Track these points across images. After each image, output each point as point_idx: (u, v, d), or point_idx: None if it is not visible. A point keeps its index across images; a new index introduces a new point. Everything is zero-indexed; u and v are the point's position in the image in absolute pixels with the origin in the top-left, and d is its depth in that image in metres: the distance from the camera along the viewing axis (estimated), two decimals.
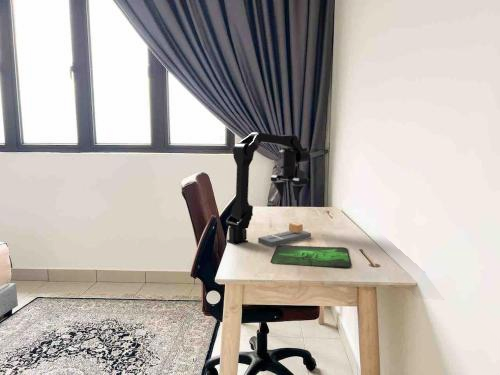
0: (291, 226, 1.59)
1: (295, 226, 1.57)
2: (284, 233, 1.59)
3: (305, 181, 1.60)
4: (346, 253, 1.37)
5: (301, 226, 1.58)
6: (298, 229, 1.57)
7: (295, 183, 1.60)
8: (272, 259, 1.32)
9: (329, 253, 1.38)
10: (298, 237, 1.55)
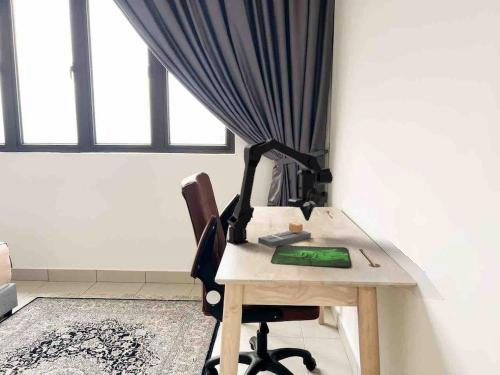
0: (291, 226, 1.59)
1: (295, 226, 1.57)
2: (284, 233, 1.59)
3: (292, 203, 1.56)
4: (346, 253, 1.37)
5: (301, 226, 1.58)
6: (298, 229, 1.57)
7: None
8: (272, 259, 1.32)
9: (329, 253, 1.38)
10: (298, 237, 1.55)
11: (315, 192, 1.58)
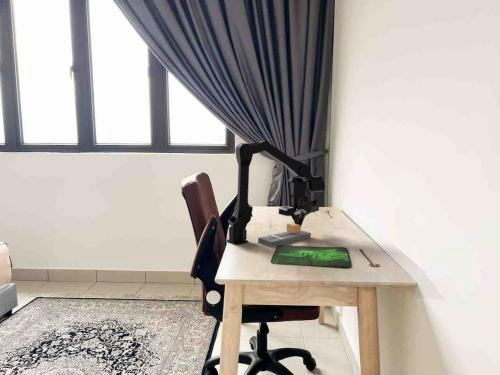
0: (289, 227, 1.58)
1: (293, 226, 1.56)
2: (284, 233, 1.59)
3: (283, 212, 1.53)
4: (346, 253, 1.37)
5: (299, 226, 1.57)
6: (296, 230, 1.56)
7: None
8: (272, 259, 1.32)
9: (329, 253, 1.38)
10: (298, 237, 1.55)
11: (306, 200, 1.56)
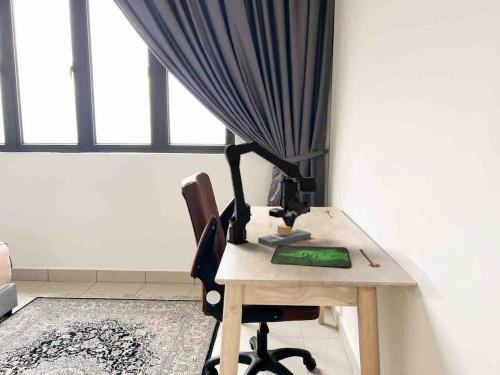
0: (279, 229, 1.55)
1: (283, 228, 1.53)
2: None
3: (274, 214, 1.50)
4: (346, 253, 1.37)
5: (290, 228, 1.54)
6: (287, 232, 1.53)
7: None
8: (272, 259, 1.32)
9: (329, 253, 1.38)
10: (298, 237, 1.55)
11: (297, 201, 1.53)
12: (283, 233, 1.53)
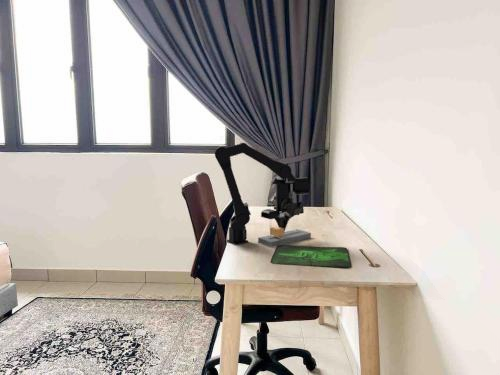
0: (272, 230, 1.52)
1: (276, 230, 1.50)
2: (284, 233, 1.59)
3: (266, 215, 1.47)
4: (346, 253, 1.37)
5: (282, 230, 1.51)
6: (279, 234, 1.50)
7: None
8: (272, 259, 1.32)
9: (329, 253, 1.38)
10: (298, 237, 1.55)
11: (290, 202, 1.50)
12: (276, 235, 1.51)
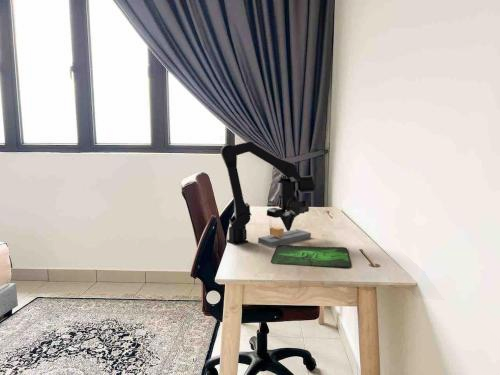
0: (272, 230, 1.52)
1: (276, 230, 1.50)
2: (284, 233, 1.59)
3: (271, 213, 1.49)
4: (346, 253, 1.37)
5: (282, 230, 1.51)
6: (279, 234, 1.50)
7: None
8: (272, 259, 1.32)
9: (329, 253, 1.38)
10: (298, 237, 1.55)
11: (295, 201, 1.52)
12: (275, 235, 1.51)
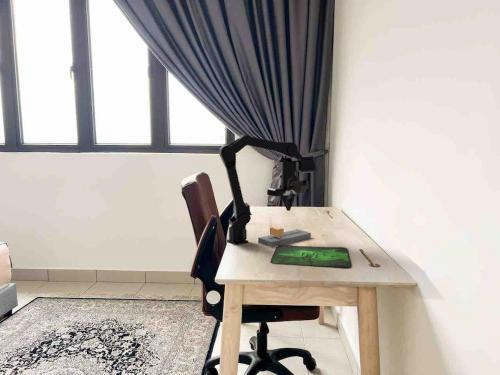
0: (272, 230, 1.52)
1: (276, 230, 1.50)
2: (284, 233, 1.59)
3: (272, 192, 1.49)
4: (346, 253, 1.37)
5: (282, 230, 1.51)
6: (279, 234, 1.50)
7: None
8: (272, 259, 1.32)
9: (329, 253, 1.38)
10: (298, 237, 1.55)
11: (296, 180, 1.51)
12: (275, 235, 1.51)
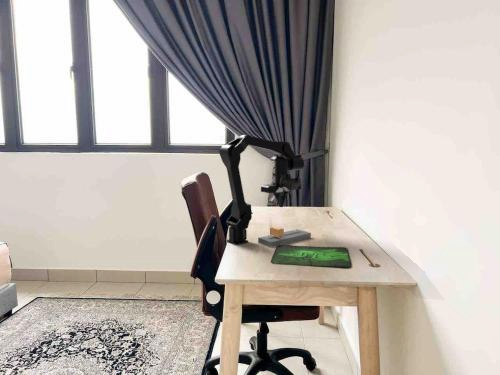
0: (272, 230, 1.52)
1: (276, 230, 1.50)
2: (284, 233, 1.59)
3: (265, 189, 1.56)
4: (346, 253, 1.37)
5: (282, 230, 1.51)
6: (279, 234, 1.50)
7: None
8: (272, 259, 1.32)
9: (329, 253, 1.38)
10: (298, 237, 1.55)
11: (288, 178, 1.59)
12: (275, 235, 1.51)
